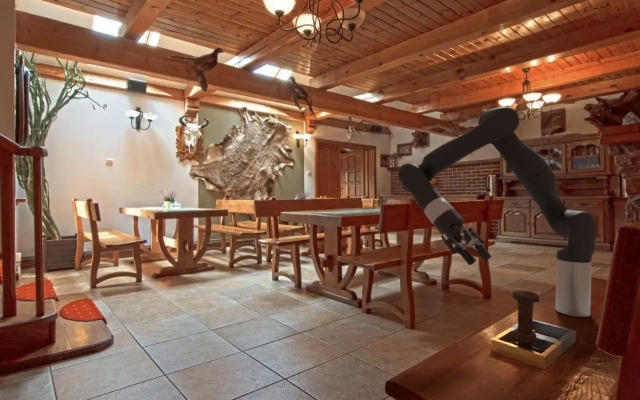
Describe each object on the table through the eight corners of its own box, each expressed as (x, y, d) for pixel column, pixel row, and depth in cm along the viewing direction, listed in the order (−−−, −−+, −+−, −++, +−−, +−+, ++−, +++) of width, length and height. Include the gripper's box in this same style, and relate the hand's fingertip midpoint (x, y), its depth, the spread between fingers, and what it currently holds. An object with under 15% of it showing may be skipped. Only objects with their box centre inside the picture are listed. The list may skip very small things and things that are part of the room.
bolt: (540, 359, 85) (541, 297, 84) (517, 357, 86) (518, 296, 85) (531, 348, 90) (532, 290, 90) (509, 346, 91) (510, 289, 91)
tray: (526, 328, 103) (526, 317, 103) (575, 341, 94) (575, 330, 94) (491, 350, 89) (491, 339, 89) (544, 369, 80) (544, 356, 80)
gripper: (437, 208, 98) (478, 256, 89) (464, 206, 107) (503, 249, 98) (421, 226, 102) (458, 273, 94) (448, 222, 111) (484, 265, 103)
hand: (481, 261), depth 96 cm, fingers open, 8 cm apart
